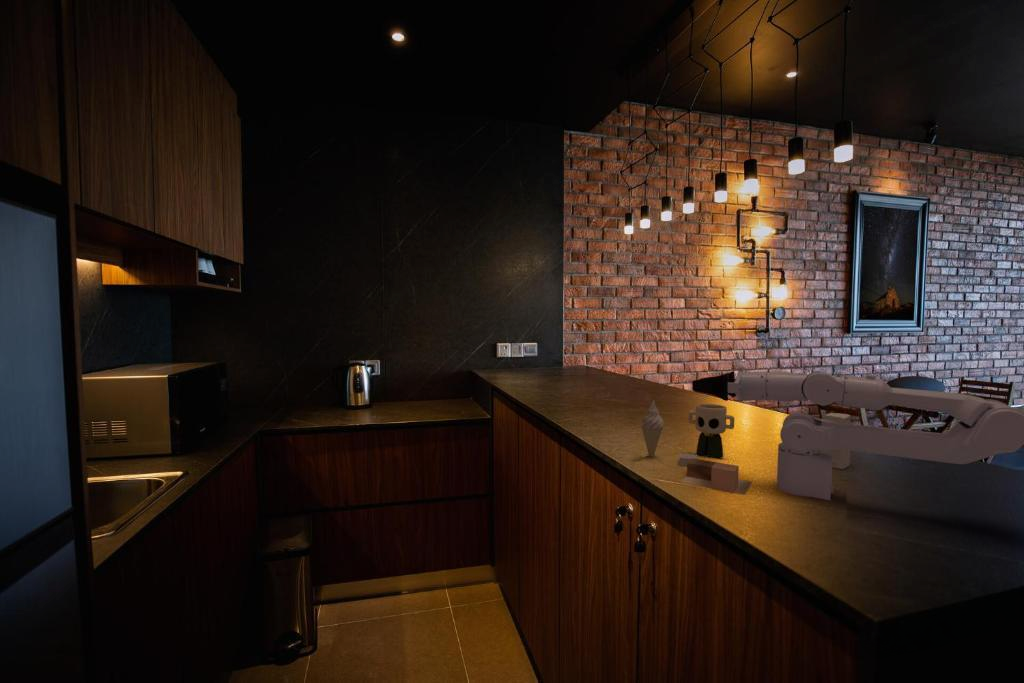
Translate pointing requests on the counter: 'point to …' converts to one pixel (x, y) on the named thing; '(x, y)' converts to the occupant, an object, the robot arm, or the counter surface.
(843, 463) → the skincare box
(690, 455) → the grey block
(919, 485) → the counter surface
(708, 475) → the walnut bar
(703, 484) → the birch board
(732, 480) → the terracotta cube
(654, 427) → the ice cream cone
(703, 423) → the character mug
